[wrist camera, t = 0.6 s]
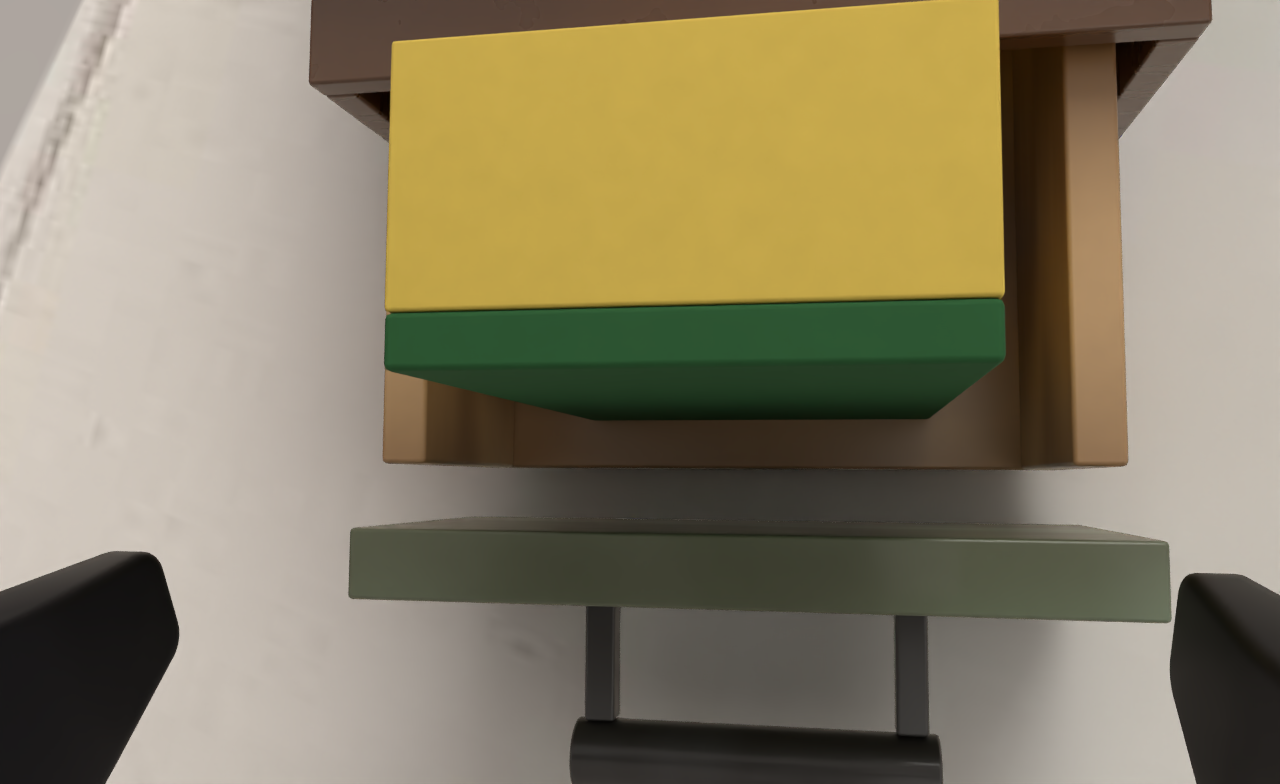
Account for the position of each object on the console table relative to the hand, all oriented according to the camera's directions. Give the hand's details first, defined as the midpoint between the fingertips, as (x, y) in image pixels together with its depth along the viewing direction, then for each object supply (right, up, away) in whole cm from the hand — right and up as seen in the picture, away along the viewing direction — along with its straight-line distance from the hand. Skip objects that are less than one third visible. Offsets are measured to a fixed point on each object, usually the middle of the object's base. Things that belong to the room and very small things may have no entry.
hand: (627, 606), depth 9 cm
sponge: (+3, +3, +13) cm, 14 cm away
